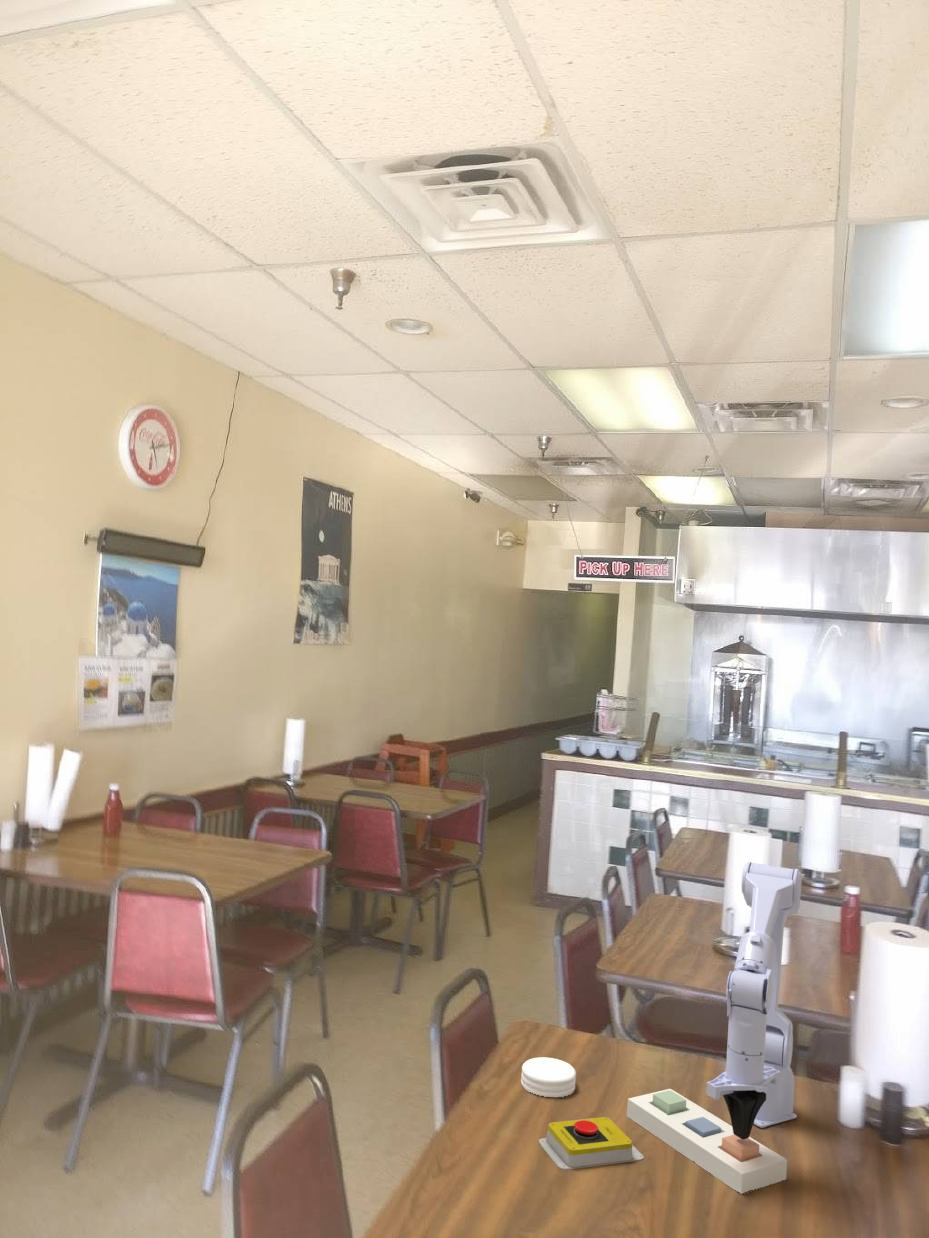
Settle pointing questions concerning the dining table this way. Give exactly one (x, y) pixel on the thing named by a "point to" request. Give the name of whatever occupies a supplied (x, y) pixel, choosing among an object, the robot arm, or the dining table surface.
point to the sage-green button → (669, 1102)
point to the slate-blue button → (703, 1127)
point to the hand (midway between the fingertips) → (740, 1135)
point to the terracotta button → (740, 1148)
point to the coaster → (548, 1077)
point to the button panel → (707, 1145)
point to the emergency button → (588, 1144)
